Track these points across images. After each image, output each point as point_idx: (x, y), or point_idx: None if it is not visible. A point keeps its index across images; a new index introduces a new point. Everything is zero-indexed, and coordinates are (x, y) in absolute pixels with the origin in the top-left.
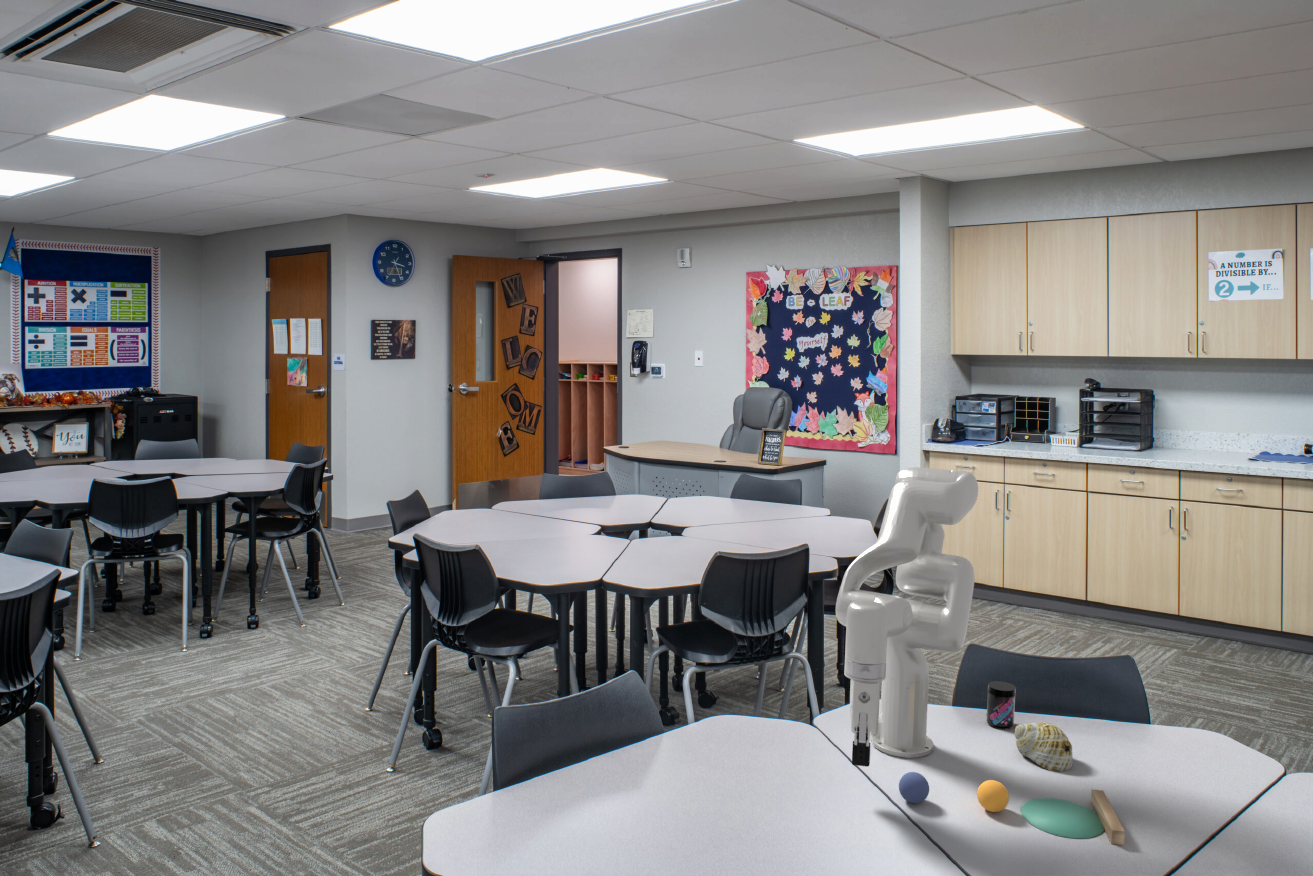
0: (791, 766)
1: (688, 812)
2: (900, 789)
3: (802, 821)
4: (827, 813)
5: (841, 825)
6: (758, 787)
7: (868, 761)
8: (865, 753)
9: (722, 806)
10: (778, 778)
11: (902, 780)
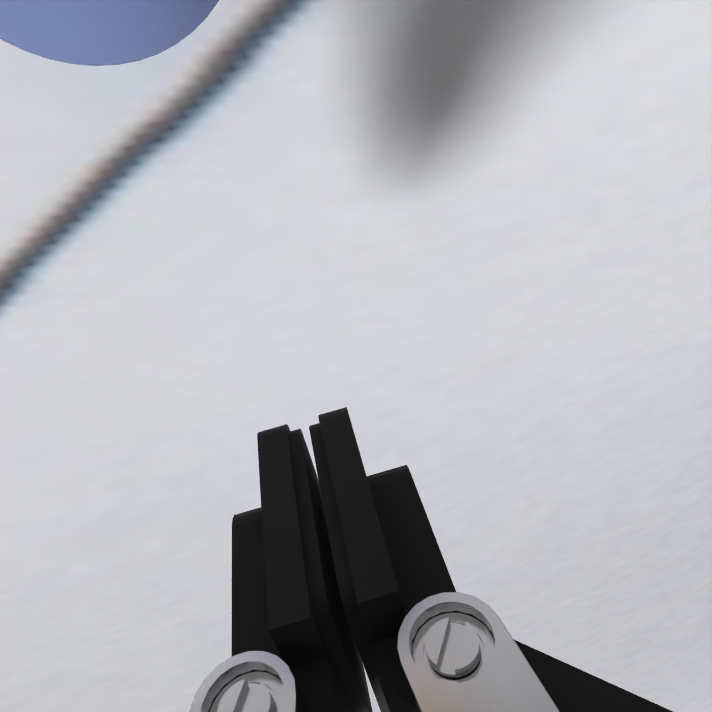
0: (121, 685)
1: None
2: (196, 27)
3: (627, 455)
4: (526, 399)
5: (629, 303)
6: None
7: (355, 444)
8: (435, 540)
9: None
10: None
11: (158, 14)
